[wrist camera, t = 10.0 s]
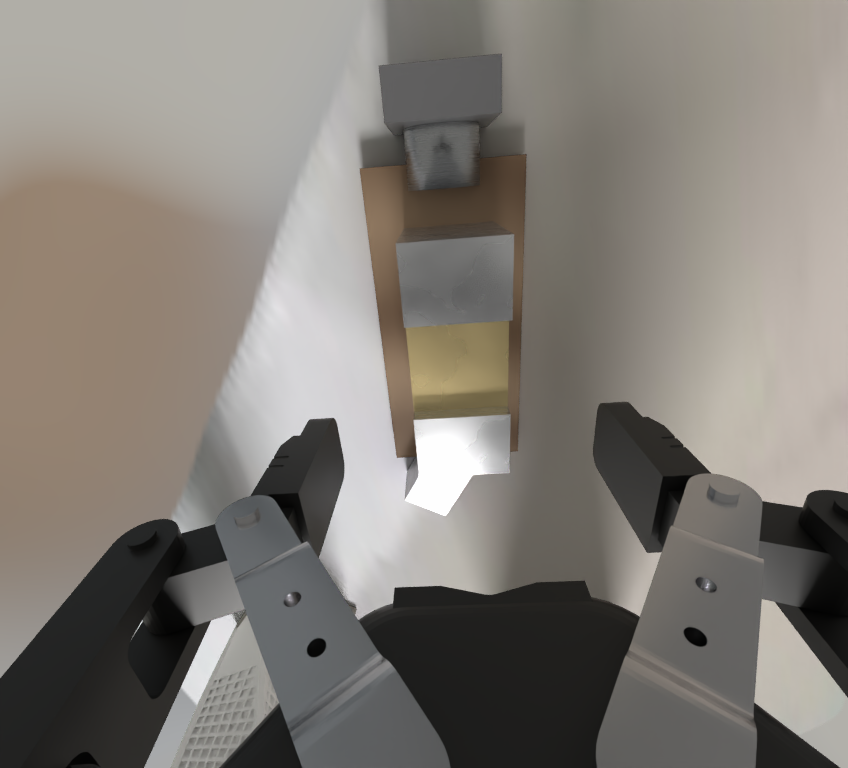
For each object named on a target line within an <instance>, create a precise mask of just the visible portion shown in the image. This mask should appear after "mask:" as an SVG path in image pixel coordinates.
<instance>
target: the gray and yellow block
mask: <svg viewBox="0 0 848 768" xmlns="http://www.w3.org/2000/svg"><path fill="white" fill-rule="evenodd" d="M396 253H397V263H398V273H399V283H400V293H401V302H402V312H403V322H404V328H406V336H407V346H408V356H409V366H410V376H411V386H412V396H413V406H414V419H413V421H414V431H415V440H416V450H417V460H418V470H419V478H422V477H442V476H461V475H481V474H500V473H509V472H510V421H511V414H510V411H509V408H508V360H509V321H512V320H513V269H514V234H513V233H511V232H510V231H508V230H507V229H505V228H503V227H502V226H500V225H499V224H497V223H496V222H494V221H491V222H478V223H465V224H453V225H440V226H428V227H415V228H404V229H403V231H402V233H401V235H400V236H399V238H398V240H397V242H396Z"/></svg>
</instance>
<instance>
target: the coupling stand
mask: <svg viewBox="0 0 848 768" xmlns="http://www.w3.org/2000/svg"><path fill="white" fill-rule="evenodd" d="M379 73H380V83H381V93H382V103H383V113H384V123H385V124H386V126H387V127H388V128H389V130H390V131H391V132H392V133H393V135H399V134H404V144H405V156H406V165H396V166H385V167H373V168H362V169H360V174H361V182H362V190H363V198H364V205H365V213H366V221H367V229H368V237H369V244H370V252H371V260H372V268H373V276H374V283H375V291H376V299H377V307H378V315H379V322H380V330H381V338H382V346H383V354H384V361H385V369H386V377H387V385H388V393H389V400H390V408H391V416H392V424H393V432H394V439H395V447H396V455H397V458H401V457H415V458H414V460H413V462H412V464H411V465H410V467H409V469H408V471H407V478H406V490H405V501H408V502H410V503H413V504H416V505H418V506H421V507H423V508H426V509H429V510H431V511H434V512H437V513H439V514H442V515H445V516H446V514H447V513H448V511H449V510H450V508H451V507H452V505H453V504H454V502H455V501H456V499H457V498H458V496H459V495H460V493H461V492H462V490H463V489H464V488H465V486H466V485H467V483H468V482H469V480H470V479H471V477H472V476H473V475H461V476H442V477H422V478H419V470H418V460H417V450H416V440H415V431H414V421H413V419H414V406H413V396H412V386H411V376H410V366H409V356H408V346H407V336H406V328H404V322H403V312H402V302H401V293H400V283H399V273H398V263H397V253H396V242H397V240H398V238H399V236H400V235H401V233H402V231H403V229H404V228H415V227H428V226H440V225H453V224H465V223H478V222H491V221H494V222H496V223H497V224H499V225H500V226H502V227H503V228H505V229H507V230H508V231H510V232H511V233H513V234H514V269H513V320H512V321H509V360H508V408H509V411H510V414H511V421H510V452H513V451H518V423H519V389H520V355H521V322H522V288H523V254H524V221H525V187H526V154H523V155H512V156H500V157H489V158H480V145H479V127H487V126H488V125H489V124H490V123H491V122H492V121H493V120H494V119H495V118H496V117H497V116H498V115H500V114H501V113H502V54H493V55H483V56H473V57H463V58H453V59H442V60H432V61H422V62H412V63H402V64H391V65H381V66H379Z"/></svg>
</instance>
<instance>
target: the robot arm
mask: <svg viewBox="0 0 848 768" xmlns="http://www.w3.org/2000/svg"><path fill="white" fill-rule="evenodd" d="M593 456H594V461H595V465H596V467H597V469H598V471H599V472H600V474H601V476H602V478H603V479H604V481H605V483H606V484H607V486H608V488H609V489H610V491H611V493H612V494H613V496H614V498H615V499H616V501H617V503H618V504H619V506H620V508H621V510H622V511H623V513H624V515H625V516H626V518H627V520H628V521H629V523H630V525H631V526H632V528H633V530H634V531H635V533H636V535H637V537H638V538H639V540H640V542H641V543H642V545H643V547H644V548H645V550H646V552H647V553H654V552H662V553H661V556H660V559H659V562H658V565H657V568H656V571H655V574H654V577H653V580H652V583H651V586H650V589H649V592H648V595H647V597H646V600H645V603H644V606H643V609H642V612H641V615H640V617H639V616H638V615H636V614H634V613H632V612H630V611H628V610H626V609H624V608H623V607H620V606H618V605H615V604H613V603H610V602H607V601H604V600H601V599H597V598H593V597H591V596H590V594H589V591H588V588H587V586H586V583H585V581H566V582H539V583H534V584H530V585H527V586H523V587H519V588H516V589H512V590H509V591H505V592H502V593H498V594H494V595H484V594H479V593H474V592H469V591H463V590H458V589H453V588H448V587H443V586H428V587H400V588H395V590H394V601H393V604H390V605H386V606H384V607H381V608H379V609H376V610H374V611H372V612H371V613H369V614H367V615H365V616H364V617H362V618H361V619H359V620H358V619H357V618H356V616H355V615H354V613H353V611H352V610H351V608H350V607H349V605H348V604H347V602H346V600H345V599H344V597H343V596H342V594H341V593H340V591H339V589H338V588H337V586H336V585H335V583H334V582H333V580H332V578H331V577H330V575H329V574H328V572H327V571H326V569H325V567H324V566H323V564H322V563H321V561H320V560H319V556H320V552H321V549H322V546H323V543H324V540H325V536H326V533H327V530H328V527H329V524H330V520H331V517H332V514H333V511H334V508H335V505H336V501H337V498H338V495H339V492H340V489H341V485H342V482H343V478H344V459H343V453H342V448H341V443H340V438H339V433H338V427H337V423H336V420H335V419H334V418H326V419H310V420H309V421H308V422H307V424H306V426H305V428H304V430H303V432H302V433H301V435H300V436H292V437H291V438H290V439H289V440H287V441H286V442H285V443H284V444H282V445H281V446H280V448H279V450H278V451H277V453H276V454H275V456H274V459H272V461H271V463H270V464H269V468H267V469H266V471H265V473H264V474H263V476H262V478H261V479H260V481H259V483H258V484H257V486H256V488H255V489H254V491H253V493H252V494H251V496H249V497H246V498H243V499H240V500H238V501H236V502H234V503H232V504H231V505H229V506H228V507H227V508H225V509H224V510H223V511H222V512H221V513H220V515H219V516H218V518H217V520H216V524H214V525H211V526H208V527H204V528H200V529H197V530H193V531H189V532H185V533H182V534H181V532H180V530H179V527H178V525H177V524H176V522H174V521H172V520H168V519H159V520H153V521H150V522H146V523H144V524H141V525H139V526H137V527H135V528H133V529H131V530H130V531H128V532H126V533H125V534H124V535H122V536H121V537H120V538H119V539H117V540H116V541H115V543H113V545H112V546H111V547H110V548H109V549H108V551H107V552H106V553H105V554H104V555H103V556H102V558H101V559H100V560H99V562H97V564H96V565H95V566H94V567H93V568H92V570H91V571H90V572H89V573H88V574H87V576H86V577H85V578H84V579H83V580H82V582H81V583H80V584H79V585H78V586H77V588H76V589H75V590H74V591H73V592H72V593H71V595H70V596H69V597H68V598H67V599H66V601H65V602H64V603H63V604H62V605H61V607H60V608H59V609H58V610H57V611H56V613H55V614H54V615H53V616H52V617H51V619H50V620H49V621H48V622H47V623H46V624H45V626H44V627H43V628H42V629H41V630H40V632H39V633H38V634H37V635H36V636H35V638H34V639H33V640H32V641H31V642H30V644H29V645H28V646H27V647H26V649H25V650H24V651H23V652H22V653H21V654H20V655H19V657H18V658H17V659H16V661H15V662H14V663H13V664H12V665H11V666H10V668H9V669H8V670H7V671H6V672H5V673H4V675H3V676H2V677H1V678H0V768H144V766H145V764H146V762H147V760H148V758H149V755H150V753H151V751H152V749H153V747H154V744H155V742H156V740H157V738H158V736H159V734H160V731H161V729H162V727H163V725H164V723H165V720H166V718H167V716H168V714H169V712H170V709H171V707H172V705H173V703H174V701H175V698H176V696H177V694H178V692H179V690H180V688H181V685H182V683H183V681H184V679H185V677H186V674H187V672H188V670H189V668H190V666H191V664H192V661H193V659H194V657H195V655H196V653H197V650H198V648H199V646H200V644H201V642H202V639H203V637H204V635H205V633H206V631H207V629H208V626H209V624H210V622H211V620H214V619H217V618H220V617H223V616H226V615H229V614H232V613H235V612H238V611H241V610H244V609H245V611H246V614H247V616H248V619H249V622H250V625H251V627H252V630H253V633H254V636H255V638H256V641H257V644H258V647H259V649H260V652H261V655H262V657H263V660H264V663H265V666H266V668H267V671H268V674H269V677H270V679H271V682H272V685H273V688H274V690H275V693H276V696H277V699H278V701H279V703H278V704H277V705H276V706H275V707H274V709H273V710H272V711H271V712H270V713H269V714H268V715H267V716H266V717H265V718H264V719H263V720H262V722H261V723H260V724H259V725H258V726H257V727H256V728H255V729H254V730H253V731H252V732H251V734H250V735H249V736H248V737H247V738H246V739H245V740H244V741H243V742H242V743H241V744H240V745H239V747H238V748H237V749H236V750H235V751H234V752H233V753H232V754H231V755H230V756H229V757H228V758H227V760H226V761H225V762H224V763H223V764H222V765H221V766H220V767H219V768H839V767H838V766H837V765H836V764H834V763H833V762H832V761H830V760H829V759H828V758H826V757H825V756H824V755H822V754H821V753H820V752H819V751H817V750H816V749H815V748H813V747H812V746H811V745H809V744H808V743H807V742H805V741H804V740H803V739H801V738H800V737H799V736H798V735H796V734H795V733H794V732H792V731H791V730H790V729H788V728H787V727H786V726H784V725H783V724H782V723H780V722H779V721H778V720H776V719H775V718H774V717H773V716H771V715H770V714H769V713H767V712H766V711H765V710H763V709H762V708H761V707H759V706H758V705H757V704H755V703H754V697H755V683H756V670H757V656H758V642H759V628H760V614H761V601H762V599H765V600H770V601H774V602H775V603H776V604H777V605H778V607H779V608H780V609H781V611H782V612H783V613H784V615H785V616H786V617H787V618H788V620H789V621H790V622H791V624H792V625H793V626H794V628H795V629H796V630H797V632H798V633H799V634H800V636H801V637H802V638H803V639H804V641H805V642H806V643H807V645H808V646H809V647H810V649H811V650H812V651H813V653H814V654H815V655H816V657H817V658H818V659H819V660H820V662H821V663H822V664H823V666H824V667H825V668H826V670H827V671H828V672H829V674H830V675H831V676H832V678H833V679H834V680H835V681H836V683H837V684H838V685H839V687H840V688H841V689H842V691H843V692H844V693H845V695H846V696H847V697H848V493H844V492H839V491H832V490H818V491H814V492H812V493H810V494H809V495H808V496H807V498H806V501H805V503H804V506H803V508H802V507H795V506H789V505H782V504H776V503H770V502H764V501H762V499H761V497H760V496H759V494H758V493H757V492H756V491H755V490H753V489H752V488H751V487H749V486H748V485H746V484H744V483H742V482H740V481H738V480H736V479H733V478H730V477H727V476H723V475H718V474H711V473H710V472H709V471H708V470H707V468H706V467H705V466H704V465H703V464H702V463H701V462H700V461H699V460H698V459H697V458H696V457H695V456H694V455H693V454H692V453H691V452H690V451H689V450H688V449H687V448H686V447H683V444H682V443H681V442H680V441H679V440H678V439H677V438H675V436H674V435H673V434H672V433H671V432H670V431H669V430H668V429H667V428H666V427H665V426H664V425H662V424H660V423H658V422H656V421H654V420H653V419H651V418H649V417H642V416H641V415H640V414H639V413H638V412H637V411H636V410H635V409H634V407H633V406H632V405H631V404H630V403H628V402H614V403H601V404H600V405H599V407H598V410H597V418H596V427H595V436H594V445H593ZM142 620H143V622H142V624H141V625H140V627H139V629H138V630H137V632H136V633H135V631H136V629H137V628H138V626H139V624H140V623H141V621H142ZM134 633H135V635H134V637H133V638H132V636H133V634H134ZM131 638H132V640H131Z"/></svg>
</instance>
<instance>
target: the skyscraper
mask: <svg viewBox="0 0 848 768" xmlns="http://www.w3.org/2000/svg"><path fill="white" fill-rule="evenodd" d="M349 607H350V608H351V610H352V611H353V613H354V615H355V614H356V608H355V607H352V606H350V605H349ZM278 703H279V701H278V699H277V696H276V693H275V690H274V688H273V685H272V682H271V679H270V677H269V674H268V671H267V668H266V666H265V663H264V660H263V657H262V655H261V652H260V649H259V647H258V644H257V641H256V638H255V636H254V633H253V630H252V627H251V625H250V622H249V619H248V616H247V614H246V612H245V613H244V614H243V616H242V617H241V619H240V620H239V622H238V623H237V625H236V627H235V628H234V630H233V632H232V634H231V636H230V638H229V641H228V643H227V645H226V647H225V649H224V651H223V653H222V655H221V657H220V659H219V661H218V663H217V665H216V667H215V669H214V671H213V673H212V675H211V677H210V679H209V681H208V683H207V686H206V688H205V690H204V692H203V694H202V696H201V698H200V700H199V703H198V705H197V707H196V709H195V712H194V714H193V716H192V718H191V721H190V723H189V725H188V727H187V730H186V732H185V734H184V737H183V739H182V741H181V744H180V746H179V749H178V751H177V753H176V756H175V758H174V760H173V763H172V765H171V768H219V767H220V766H221V765H222V764H223V763H224V762H225V761H226V760H227V758H228V757H229V756H230V755H231V754H232V753H233V752H234V751H235V750H236V749H237V748H238V747H239V745H240V744H241V743H242V742H243V741H244V740H245V739H246V738H247V737H248V736H249V735H250V734H251V732H252V731H253V730H254V729H255V728H256V727H257V726H258V725H259V724H260V723H261V722H262V720H263V719H264V718H265V717H266V716H267V715H268V714H269V713H270V712H271V711H272V710H273V709H274V707H275V706H276V705H277V704H278Z"/></svg>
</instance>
